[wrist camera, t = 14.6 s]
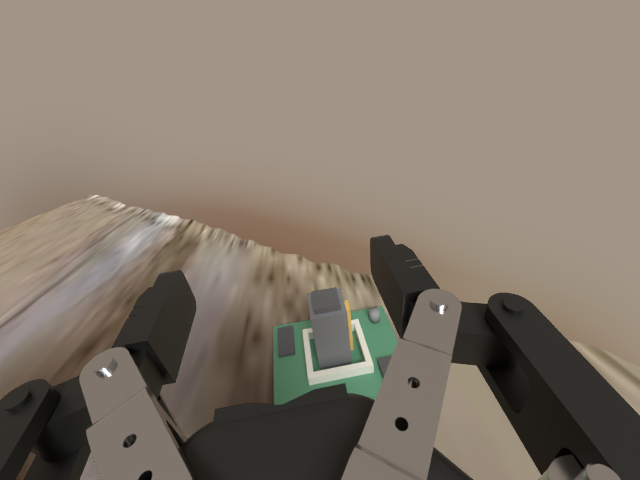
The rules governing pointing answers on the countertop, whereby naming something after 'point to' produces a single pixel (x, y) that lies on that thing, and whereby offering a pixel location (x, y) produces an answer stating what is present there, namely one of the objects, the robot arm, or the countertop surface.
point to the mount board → (360, 377)
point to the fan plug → (331, 327)
